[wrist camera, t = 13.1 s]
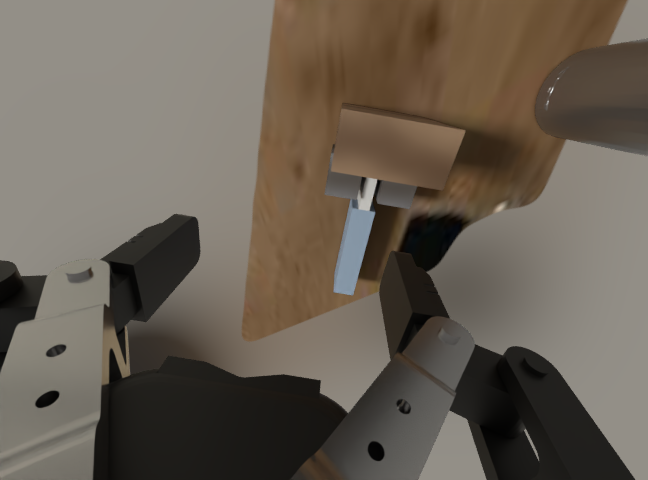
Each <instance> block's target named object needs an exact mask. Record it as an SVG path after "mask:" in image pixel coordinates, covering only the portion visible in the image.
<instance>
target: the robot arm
mask: <svg viewBox="0 0 648 480" xmlns="http://www.w3.org/2000/svg"><path fill="white" fill-rule="evenodd" d="M535 116H536V119H537V123H538V124H539V126H540V128H541V129H542V130H543V131H544V132H546V133H547V134H549V135H551V136H554V137H559V138H564V139H568V140H573V141H577V142H582V143H586V144H591V145H597V146H601V147H606V148H610V149H615V150H620V151H625V152H630V153H634V154H639V155H644V156H648V38H647V39H641V40H636V41H630V42H624V43H618V44H612V45H607V46H601V47H596V48H590V49H587V50H583V51H580V52H578V53H576V54H574V55H572V56H570V57H569V58H567V59H566V60H564V61H563V62H561V63H560V64H559V65H558V66H557V67H556V68H555V69H554V70H553V71H552V72H551V73H550V75H549V76H548V77H547V79H546V80H545V82H544V83H543V85H542V87H541V89H540V91H539V94H538V96H537V100H536V105H535ZM199 257H200V240H199V227H198V221H197V219H196V217H192V216H186V215H179V214H174V215H173V216H171V217H170V218H168V219H167V220H165V221H164V222H163V223H159V224H157V225H154V226H151V227H148V228H146V229H144V230H143V231H142V232H140V233H139V234H137V236H134V237H133V238H131V239H130V240H129V241H128V242H125V243H124V244H122V245H121V246H120V247H118V248H117V249H115V250H114V251H112V252H111V253H109V254H108V255H106V256H105V257H103V258H102V259H100V260H97V259H84V260H78V261H73V262H70V263H66V264H64V265H61V266H60V267H58V268H56V269H54V270H53V271H51V272H50V273H49V274H48V275H47V276H46V275H45V276H21V275H20V273H19V271H18V269H17V267H16V265H15V264H13V263H12V262H9V261H1V260H0V480H418V479H419V476H420V474H421V472H422V469H423V467H424V465H425V463H426V461H427V459H428V456H429V454H430V452H431V450H432V447H433V445H434V443H435V441H436V438H437V436H438V434H439V432H440V429H441V427H442V425H443V423H444V420H445V418H446V416H447V414H448V412H449V410H450V411H452V412H454V413H456V414H458V415H460V416H462V417H464V418H466V419H467V420H468V423H469V426H470V429H471V432H472V436H473V439H474V442H475V445H476V448H477V451H478V454H479V457H480V461H481V464H482V467H483V470H484V473H485V476H486V479H487V480H635V479H634V477H633V476H632V474H631V473H630V471H629V470H628V469H627V467H626V466H625V464H624V463H623V462H622V460H621V459H620V457H619V456H618V455H617V453H616V452H615V450H614V449H613V447H612V446H611V445H610V443H609V442H608V441H607V439H606V438H605V436H604V435H603V434H602V432H601V431H600V429H599V428H598V427H597V425H596V424H595V422H594V421H593V419H592V418H591V417H590V415H589V414H588V412H587V411H586V410H585V408H584V407H583V405H582V404H581V402H580V401H579V400H578V398H577V397H576V395H575V394H574V393H573V391H572V390H571V388H570V387H569V386H568V384H567V383H566V381H565V380H564V378H563V377H562V376H561V374H560V373H559V372H558V370H557V369H556V368H555V367H554V366H553V365H552V364H551V363H550V362H549V361H547V360H546V359H545V358H543V357H542V356H540V355H539V354H537V353H535V352H533V351H531V350H529V349H526V348H523V347H517V346H515V347H514V346H513V347H510V348H508V349H507V350H506V352H505V353H504V355H503V356H502V355H500V354H497V353H495V352H492V351H490V350H488V349H485V348H482V347H480V346H478V345H476V344H475V342H474V339H473V337H472V335H471V334H470V333H469V331H468V330H467V329H466V328H465V327H463V326H462V325H461V324H459V323H457V322H456V321H454V320H452V319H450V318H449V315H448V313H447V311H446V309H445V307H444V305H443V303H442V300H441V298H440V296H439V295H438V292H437V290H436V288H435V287H434V283H433V281H432V279H431V277H430V276H429V275H428V274H427V273H426V272H425V271H424V270H423V269H422V268H419V267H416V265H415V263H414V260H413V258H412V255H411V254H408V253H402V252H396V251H392V252H391V253H390V255H389V258H388V261H387V264H386V267H385V270H384V273H383V277H382V280H381V283H380V291H379V293H380V301H381V307H382V313H383V319H384V324H385V330H386V336H387V342H388V348H389V353H390V359H391V361H390V362H389V363H388V364H387V366H386V367H385V368H384V369H383V371H382V372H381V373H380V374H379V376H378V377H377V378H376V379H375V381H374V382H373V383H372V384H371V386H370V387H369V388H368V389H367V391H366V392H365V393H364V394H363V396H362V397H361V398H360V399H359V401H358V402H357V403H356V404H355V406H354V407H353V408H352V409H351V411H350V412H349V413H347V412H346V411H345V410H344V409H343V408H342V407H341V406H340V405H339V404H337V403H336V402H335V401H333V400H332V399H330V398H328V397H327V396H325V395H323V394H321V393H320V383H321V381H320V380H314V379H308V378H302V377H296V376H290V375H284V374H283V375H271V376H259V377H246V378H243V377H238V376H236V375H234V374H231V373H229V372H227V371H225V370H223V369H220V368H218V367H216V366H214V365H211V364H209V363H207V362H203V361H196V360H191V359H185V358H178V357H172V356H168V357H167V358H166V360H165V361H164V363H163V364H162V366H161V367H160V368H159V369H152V370H146V371H142V372H139V373H136V374H132V375H130V365H129V351H128V332H127V328H126V324H127V323H128V322H129V321H130V320H137V321H143V322H147V321H148V320H149V318H150V317H151V316H152V315H153V314H154V312H155V311H156V310H157V309H158V308H159V307H160V305H162V303H163V302H164V301H165V300H166V299H167V298H168V296H169V295H170V294H171V293H172V292H173V291H174V290H175V288H176V287H177V286H178V285H179V284H180V283H181V281H182V280H183V279H184V278H185V277H186V276H187V275H188V273H189V272H190V271H191V270H192V269H193V268H194V266H195V265H196V264H197V262H198V260H199ZM525 429H526V430H527V432H528V434H529V436H530V438H531V440H532V442H533V444H534V446H535V448H536V450H537V453H538V456H539V461H538V459H537V457H536V455H535V453H534V450H533V448H532V446H531V444H530V442H529V440H528V438H527V436H526V434H525V432H524V430H525Z"/></svg>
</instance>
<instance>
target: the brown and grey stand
mask: <svg viewBox="0 0 648 480" xmlns="http://www.w3.org/2000/svg"><path fill="white" fill-rule="evenodd" d="M465 131H466V130H463V129H459V128H456V127H453V126H450V125H446V124H443V123H440V122H437V121H433V120H430V119H427V118H424V117H420V116H414V115H408V114H403V113H397V112H391V111H386V110H380V109H374V108H369V107H363V106H358V105H352V104H346V103H342V108H341V114H340V120H339V125H338V131H337V137H336V143H335V144H333V148H332V152H331V158H330V164H329V171H328V177H327V183H326V189H325V195H330V196H336V197H342V198H348V199H353V200H357V197H358V192H359V188H360V184H361V179H362V177H367V178H373V179H377V183H376V187H375V191H374V193H375V196H376V200H377V203H378V204H383V205H388V206H394V207H400V208H406V209H410V207H411V204H412V201H413V198H414V195H415V192H416V189H417V186H419V187H425V188H431V189H436V190H442V191H443V189H444V186H445V184H446V181H447V178H448V176H449V173H450V171H451V168H452V165H453V163H454V160H455V157H456V155H457V152H458V150H459V147H460V144H461V142H462V139H463V137H464V134H465Z"/></svg>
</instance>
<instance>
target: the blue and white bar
mask: <svg viewBox="0 0 648 480" xmlns="http://www.w3.org/2000/svg"><path fill="white" fill-rule="evenodd" d="M376 183H377V179H373V178H367V177H362V179H361V184H360V188H359V192H358V197H357V200H353V199H351V200H350V205H349V209H348V214H347V219H346V223H345V228H344V233H343V237H342V242H341V246H340V251H339V256H338V260H337V265H336V269H335V277H334V292H336V293H342V294H348V295H353V293H354V289H355V286H356V282H357V278H358V275H359V271H360V267H361V264H362V260H363V256H364V252H365V249H366V245H367V241H368V238H369V234H370V230H371V227H372V223H373V219H374V215H375V209H374V205H373V201H372V199H373V195H374V191H375V187H376Z"/></svg>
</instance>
